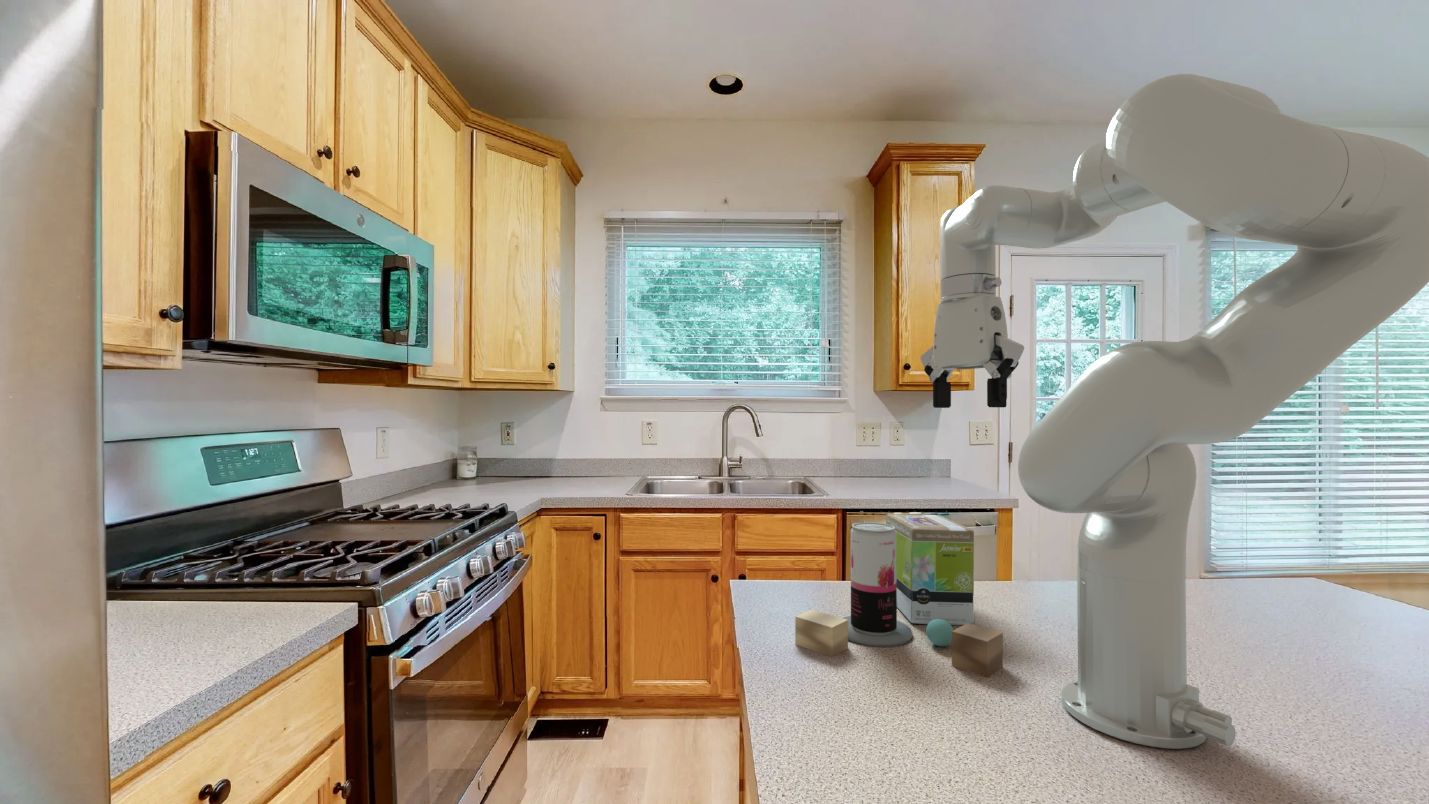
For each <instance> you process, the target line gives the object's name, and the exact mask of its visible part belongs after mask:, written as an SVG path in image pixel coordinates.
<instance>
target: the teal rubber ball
mask: <svg viewBox="0 0 1429 804" xmlns="http://www.w3.org/2000/svg"><path fill="white" fill-rule="evenodd" d="M953 630H954V629H953V626H952V625H950V624H949V623H948V622H947V621H945V620H943V619H934V620H932V621H930V622H929V624H926V629H925V634H926V636H927V639H928V640H929V642H931V643H932V644H933V645H934V646H938V647H946V646H948V645H950V644H952V631H953Z"/></svg>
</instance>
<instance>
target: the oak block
mask: <svg viewBox="0 0 1429 804" xmlns="http://www.w3.org/2000/svg"><path fill="white" fill-rule="evenodd" d="M843 618H844V617H839V616H836V615H833V614H829V613H825V612H822V611H819V610H815V609H809V610H807V611H805V612H803V613H801V614H799V615H796V616H795V618H794V621H795V622H794V623H795V625H794V628H795V634H794V635H795V636H794V637H795V639H794V641H795V643H794V644H795V645H797V646H800V647H801V648H806V649H808V650H811V651H814V652H818V653H820V654H823V655H826V656H829V657H831V658H832V657H835V656H836V655H838V654H840V653H842V652H844V651H845V650H848V649H849V640H848V620H847V619H843Z"/></svg>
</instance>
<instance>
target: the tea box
mask: <svg viewBox="0 0 1429 804" xmlns="http://www.w3.org/2000/svg"><path fill="white" fill-rule="evenodd" d="M885 518H886V519H885V521H886V522H885V524H889V525H892V526H894V527H895V531H896V565H897V609H898V610H899V611H900V612H901V613H902V614H903V615H904V616H905V617H906V619H907V620H908V621H909V622H910V623H911V624H916V625H917V624H919V625H922V624H923V625H928V624H929V622H930V621H932V620H934V619H943V620H945V621H947V622H948V623H949V624H950V625H951V626H952V625H955V626H957V625H959V626H963V625H965V624H967V623H970V624H973V623H974V596H975V595H974V594H975V593H974V592H975V591H974V590H975V589H974V587H975V584H974V583H975V582H974V581H975V580H974V572H975V571H974V570H975V565H974V564H975V563H974V562H975V557H974V555H975V531H974V530H973V529H972V528H969V527H967V526H965V525H963V524H960V523H958V522H956V521H954V520H951V519H949V518H947V517H944V516H942V515H939V514H910V513H909V514H905V513H904V514H903V513H901V514H900V513H899V514H898V513H895V514H894V513H890V514H889V513H887V514H885Z"/></svg>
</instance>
